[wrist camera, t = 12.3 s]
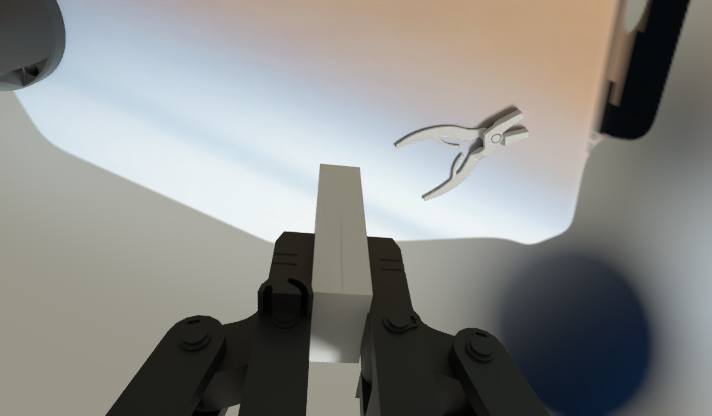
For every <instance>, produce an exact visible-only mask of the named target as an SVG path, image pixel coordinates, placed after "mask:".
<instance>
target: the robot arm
mask: <svg viewBox="0 0 712 416" xmlns="http://www.w3.org/2000/svg"><path fill="white" fill-rule="evenodd" d="M64 49H65V27H64V22H63V17H62V14H61V11H60V8H59V6H58V3H57V1H56V0H0V91H12V90H17V89H22V88H25V87H28V86H30V85H32V84H34V83H36V82H38V81H41V80H43V79H44V78H46V77H47V76H49V75H50V74H51V73H52V72H53V71H54V70H55V69H56V68H57V66H58V65H59V63H60V61H61V59H62V57H63V53H64ZM360 354H361V373H360V377H359V382H358V387H357V392H356V397H355V398H360V414H361V416H550V415H549V414H548V412H547V411H546V409H545V408H544V406H543V405H542V403H541V402H540V400H539V399H538V397H537V396H536V394H535V393H534V391H533V390H532V388H531V387H530V385H529V384H528V382H527V381H526V379H525V378H524V376H523V375H522V373H521V372H520V371H519V369H518V367H517V366H516V364H515V363H514V361H513V360H512V359H511V357H510V355H509V354H508V352H507V351H506V350H505V348H504V346H503V345H502V344H501V343H500V342H499V341H498V339H497V338H496V337H494V336H493V335H491V334H490V333H488V332H486V331H484V330H481V329H478V328H466V329H463V330H461V331H459V332H458V333H457V334H456V335H455V336H453V335H450V334H447V333H443V332H441V331H438V330H435V329H433V328H431V327H429V326H427V325H426V324H424V323H423V322H422V321H421V319H420V317H419V315H418V314H417V313H416V312H415V311H414V310H413V308H412V304H411V299H410V294H409V289H408V284H407V279H406V274H405V272H404V264H403V259H402V255H401V250H400V248H399V247H398V245H397V244H396V243H395V241H394V240H393V239H392V238H381V237H368V236H367V234H366V224H365V215H364V205H363V195H362V185H361V176H360V167H349V166H338V165H327V164H320V173H319V184H318V196H317V208H316V220H315V233H314V234H313V233H299V232H285V231H284V232H283V233H282V235H281V236H280V237H279V238H278V239H277V240H276V243H275V248H274V253H273V259H272V264H271V268H270V273H269V278H268V280H267V281H265V282H264V283H263V284H262V285H261V286H260V288H259V290H258V311H257V312H256V313H255V314H253V315H252V316H250V317H248V318H246V319H244V320H241V321H238V322H234V323H229V324H224V325H222V324H221V323H220V322H219V321H218V320H217V319H215V318H212V317H210V316H201V315H197V316H192V317H188V318H185V319H183V320H181V321H179V322H178V323H176V324H175V325H174V326H173V327H172V328H171V329H170V330H169V331H168V332H167V333H166V335H165V336H164V337H163V339H162V340H161V341H160V343H159V344H158V345H157V347H156V348H155V350H154V351H153V352H152V354H151V355H150V356H149V358H148V359H147V360H146V362H145V363H144V364H143V366H142V367H141V368H140V370H139V371H138V372H137V374H136V375H135V376H134V378H133V379H132V380H131V382H130V383H129V384H128V386H127V387H126V389H125V390H124V391H123V393H122V394H121V395H120V397H119V398H118V399H117V401H116V402H115V403H114V405H113V406H112V408H111V409H110V410H109V411H108V413H107V414H106V416H225V414H226V412H227V410H228V407H230V406H234V405H237V404H240V409H239V414H238V416H306V405H307V404H306V403H307V388H308V371H309V370H308V369H309V361H318V362H342V363H359V358H360Z"/></svg>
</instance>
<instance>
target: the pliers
mask: <svg viewBox="0 0 712 416" xmlns="http://www.w3.org/2000/svg"><path fill="white" fill-rule="evenodd" d="M523 117H524V114H523V113H522V112H521V111H520V110H519V109H517V110H515V111H513V112H512V113H510V114H508V115H506V116H504V117H502V118H500V119H499V120H497V121H495V122H494V125H492V126H491V127H490V128H489V129H487V128H485V127H483V128H479V129H466V128H462V127H458V126H438V127H432V128H428V129H424V130H421V131H419V132H416V133H414V134H412V135H409V136H408V137H406V138H404V139H403V140H401V141H400V142H398V143H397V144H396V146H397V148H400V147H403V146H406V145H409V144H411V143H414V142H418V141H421V140H426V139H430V138H433V139H435V140H437V141H438V142H439V143H441V144H443V145H445V146H447V147H453V148H460V145H455V144H449V143H446V142H444V141H443V140H442V139H441V138H440V137H451V138H456V139H460V140H470V139H474V138H479V137H480V138H481V140H482V141H483V147H478V148H477V149H476V150H474V151H473V152H472V153H470V155H469V156H468V158H467V160H466V162H465V163H464V165H463V167H462V168H461V170H460V171H459V172H458V173H457V174H456V168H457V165H458V163H459V161H460V160H461V158H462V157H463V156H464V155H463V154H462V153H461V154H460V156H459V157H458V158H457V160H456V161H455V163H454V166H453V170H452V177H451V179H450V180H449V181H447V182H446V183H445V184H443V185H442V186H441V187H439V188H437V189H436V190H434V191H432V192H431V193H429V194H427V195H425V196H424V197H423V198H424V200H425V201H426V200H429V199H432V198H435V197H438V196H440V195H442V194H444V193H446V192H448V191H450V190H452V189H453V188H455V187H456V186H457V185H459V184H460V183H461V182H462V181H464V180H465V179H466V178H467V177H468V176H469V175H470V174H471V172H472V171H473V170H474V169H475V167H476V165H477V163H478V161H479V160H480V159H482V158H484V157H486V156H488V155H489V154H491V153H492V152H493V151H495V148H496V146H497V145H499V144H502V145H504V146H506V145H509V144H511V143H514V142H516V141H519V140H521V139H524V138H526V137H529V131H528V130H527V129H526V128H523V129H519V130H514V131H510V132H505V131H506V130H507V129H508V128H510V127H511V126H512V125H514V124H515V123H516V122H518V121H519V120H520V119H522V118H523ZM503 132H505V133H503Z"/></svg>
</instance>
